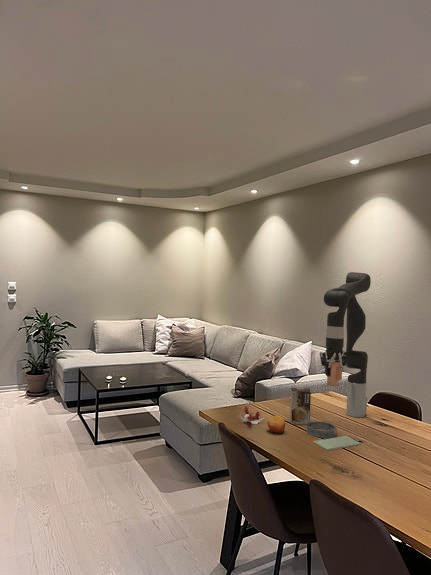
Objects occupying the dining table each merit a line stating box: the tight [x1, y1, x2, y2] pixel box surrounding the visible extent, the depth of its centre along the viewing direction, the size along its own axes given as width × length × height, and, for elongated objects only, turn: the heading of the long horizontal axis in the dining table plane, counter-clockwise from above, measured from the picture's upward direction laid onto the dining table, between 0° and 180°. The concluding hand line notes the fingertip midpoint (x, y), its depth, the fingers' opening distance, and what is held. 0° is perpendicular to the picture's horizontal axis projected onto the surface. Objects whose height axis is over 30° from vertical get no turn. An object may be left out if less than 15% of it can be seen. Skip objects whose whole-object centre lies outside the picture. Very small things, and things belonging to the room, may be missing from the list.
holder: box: [305, 420, 338, 439], centre depth 196 cm, size 13×13×3 cm
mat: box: [312, 435, 362, 451], centre depth 184 cm, size 18×9×1 cm, turn 115°
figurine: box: [239, 405, 264, 425], centre depth 206 cm, size 15×12×7 cm
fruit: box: [266, 415, 286, 434], centre depth 196 cm, size 8×8×8 cm
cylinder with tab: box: [326, 360, 343, 387], centre depth 186 cm, size 7×5×10 cm
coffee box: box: [289, 387, 312, 426], centre depth 209 cm, size 9×6×16 cm
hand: (333, 375), depth 187 cm, fingers closed on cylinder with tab, 5 cm apart
